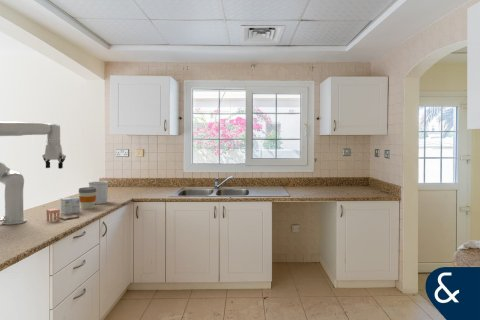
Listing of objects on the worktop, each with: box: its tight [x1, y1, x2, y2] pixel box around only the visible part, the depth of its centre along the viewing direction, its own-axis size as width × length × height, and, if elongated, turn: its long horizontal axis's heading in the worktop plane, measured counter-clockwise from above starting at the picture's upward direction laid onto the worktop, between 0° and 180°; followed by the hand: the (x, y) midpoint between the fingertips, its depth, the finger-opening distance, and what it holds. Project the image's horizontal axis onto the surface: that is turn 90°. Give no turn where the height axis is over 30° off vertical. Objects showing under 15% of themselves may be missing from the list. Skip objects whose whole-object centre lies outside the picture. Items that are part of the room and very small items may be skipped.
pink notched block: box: [46, 207, 61, 223], centre depth 213 cm, size 6×6×7 cm
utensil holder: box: [88, 180, 109, 205], centre depth 277 cm, size 15×15×18 cm
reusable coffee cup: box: [78, 186, 96, 210], centre depth 256 cm, size 12×12×15 cm
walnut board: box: [60, 213, 80, 221], centre depth 221 cm, size 10×10×1 cm
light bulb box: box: [60, 196, 81, 215], centre depth 236 cm, size 11×7×11 cm, turn 141°
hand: (54, 168), depth 221 cm, fingers open, 9 cm apart
